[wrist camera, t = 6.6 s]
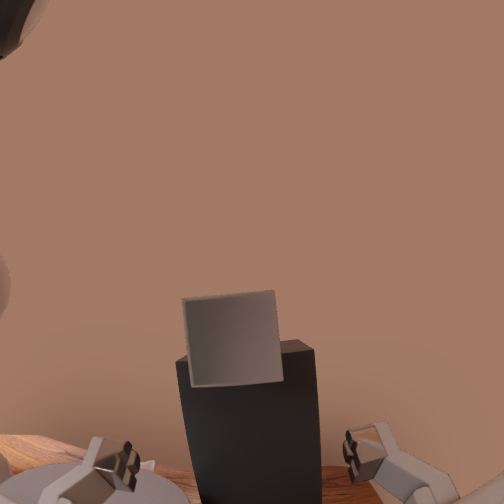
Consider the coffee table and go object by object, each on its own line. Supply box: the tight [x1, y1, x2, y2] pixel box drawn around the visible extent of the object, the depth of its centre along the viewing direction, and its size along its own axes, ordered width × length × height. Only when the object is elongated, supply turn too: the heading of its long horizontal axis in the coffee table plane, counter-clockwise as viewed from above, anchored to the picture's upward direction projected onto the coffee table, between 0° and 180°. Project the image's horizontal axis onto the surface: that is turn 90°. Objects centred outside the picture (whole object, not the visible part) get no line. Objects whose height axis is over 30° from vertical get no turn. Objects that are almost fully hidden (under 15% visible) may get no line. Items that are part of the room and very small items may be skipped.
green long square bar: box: [182, 290, 284, 388], centre depth 22 cm, size 20×4×4 cm, turn 179°
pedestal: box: [176, 339, 322, 504], centre depth 21 cm, size 8×10×26 cm
